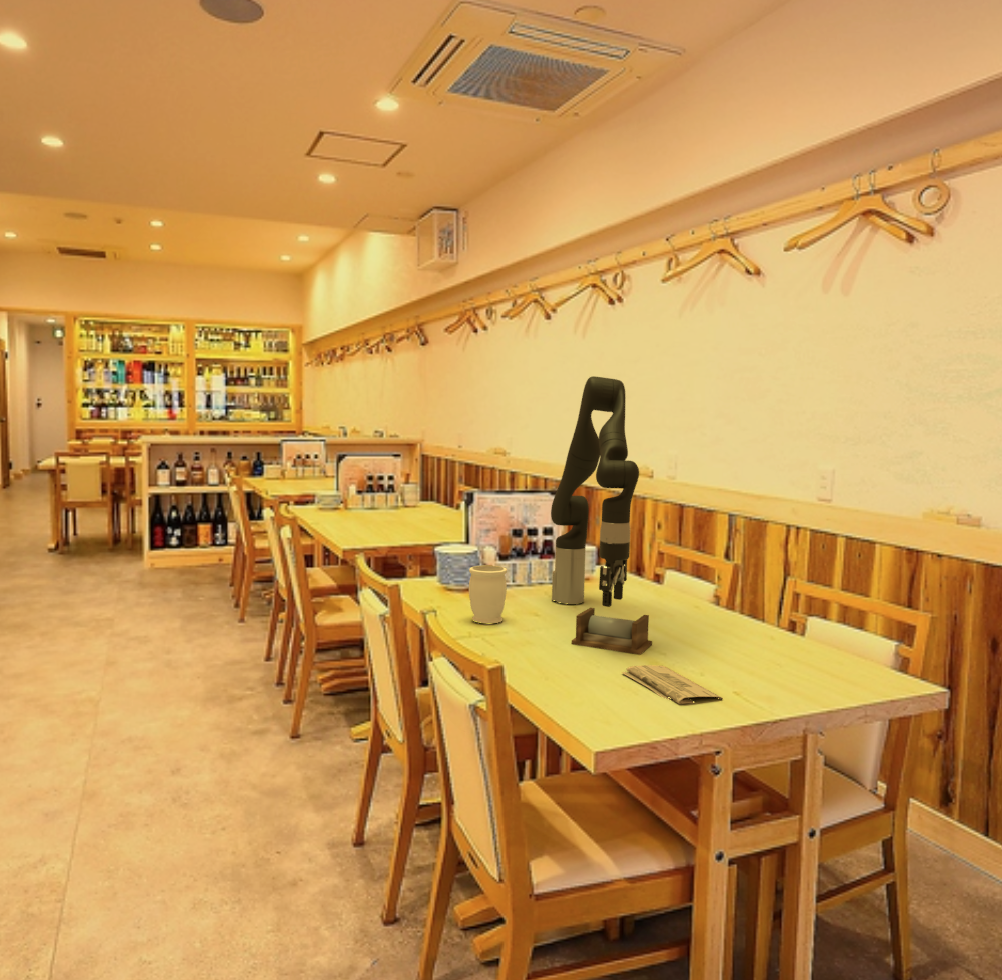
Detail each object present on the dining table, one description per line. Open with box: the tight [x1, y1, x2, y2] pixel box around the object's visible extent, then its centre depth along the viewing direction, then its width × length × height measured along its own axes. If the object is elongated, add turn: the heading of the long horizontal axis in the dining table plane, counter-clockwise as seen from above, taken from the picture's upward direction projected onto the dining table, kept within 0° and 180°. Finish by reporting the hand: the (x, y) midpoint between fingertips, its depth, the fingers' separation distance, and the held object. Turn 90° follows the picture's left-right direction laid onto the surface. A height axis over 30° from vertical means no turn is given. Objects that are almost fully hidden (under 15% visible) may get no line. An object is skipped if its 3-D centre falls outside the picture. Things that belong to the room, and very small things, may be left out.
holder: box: [571, 607, 653, 656], centre depth 203 cm, size 18×10×8 cm, turn 63°
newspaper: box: [621, 664, 724, 705], centre depth 172 cm, size 23×12×2 cm, turn 20°
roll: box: [588, 614, 636, 639], centre depth 203 cm, size 11×5×5 cm, turn 63°
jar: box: [468, 565, 508, 624], centre depth 223 cm, size 11×10×15 cm
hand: (612, 602), depth 202 cm, fingers open, 8 cm apart
